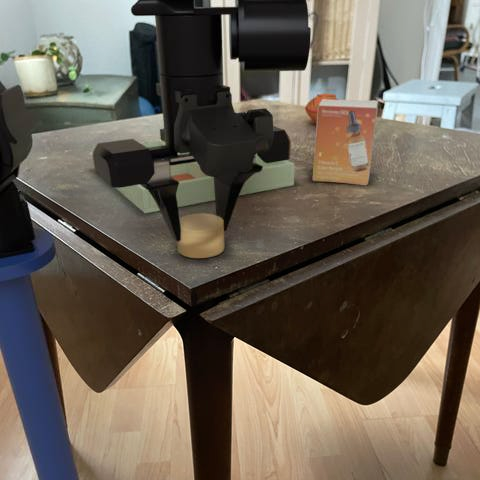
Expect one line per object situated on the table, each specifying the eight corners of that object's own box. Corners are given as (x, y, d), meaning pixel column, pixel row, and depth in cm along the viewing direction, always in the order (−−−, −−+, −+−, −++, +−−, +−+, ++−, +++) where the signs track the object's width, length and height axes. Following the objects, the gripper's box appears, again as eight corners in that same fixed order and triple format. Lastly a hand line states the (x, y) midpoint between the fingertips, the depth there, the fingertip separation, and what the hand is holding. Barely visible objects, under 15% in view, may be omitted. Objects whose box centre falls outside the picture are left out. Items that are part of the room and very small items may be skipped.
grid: (144, 213, 68) (142, 189, 66) (94, 170, 84) (91, 150, 83) (294, 185, 77) (295, 163, 75) (221, 151, 93) (221, 132, 92)
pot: (294, 125, 109) (300, 89, 107) (319, 128, 114) (325, 94, 112) (323, 129, 104) (331, 92, 101) (348, 133, 109) (356, 97, 107)
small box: (311, 182, 78) (316, 104, 72) (316, 171, 82) (321, 97, 77) (368, 185, 76) (377, 106, 71) (370, 174, 81) (378, 99, 75)
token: (189, 262, 55) (187, 234, 53) (170, 245, 58) (168, 218, 57) (232, 251, 57) (232, 224, 55) (211, 236, 60) (210, 210, 59)
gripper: (119, 94, 39) (142, 287, 47) (329, 75, 46) (317, 243, 54) (79, 77, 47) (104, 242, 55) (262, 63, 55) (261, 210, 63)
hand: (200, 235), depth 57 cm, fingers closed on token, 5 cm apart
